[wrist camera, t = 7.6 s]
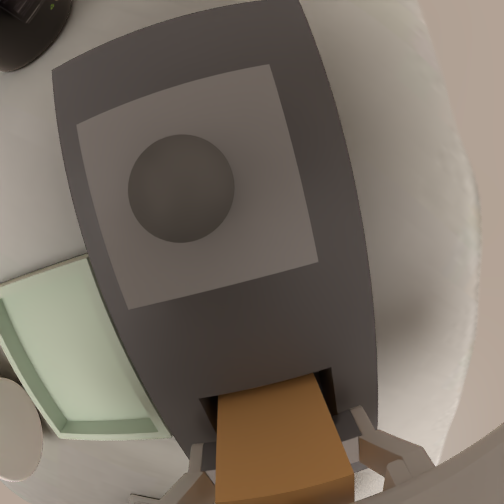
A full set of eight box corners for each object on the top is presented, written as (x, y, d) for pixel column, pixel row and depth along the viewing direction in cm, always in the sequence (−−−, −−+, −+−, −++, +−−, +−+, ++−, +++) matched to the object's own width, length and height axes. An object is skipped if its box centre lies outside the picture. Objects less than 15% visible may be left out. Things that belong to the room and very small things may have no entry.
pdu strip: (102, 99, 12) (48, 68, 7) (277, 49, 12) (298, -7, 7) (221, 444, 17) (220, 504, 12) (350, 412, 17) (376, 468, 12)
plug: (219, 372, 13) (214, 534, 5) (304, 352, 13) (366, 504, 5) (242, 427, 14) (252, 564, 6) (316, 410, 14) (362, 541, 6)
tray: (-3, 284, 14) (-22, 295, 12) (103, 248, 14) (86, 258, 12) (68, 421, 17) (59, 438, 15) (176, 415, 17) (172, 437, 15)
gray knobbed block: (156, 152, 12) (45, 115, 4) (249, 126, 12) (278, 37, 4) (181, 242, 13) (108, 336, 5) (272, 218, 13) (338, 281, 5)
